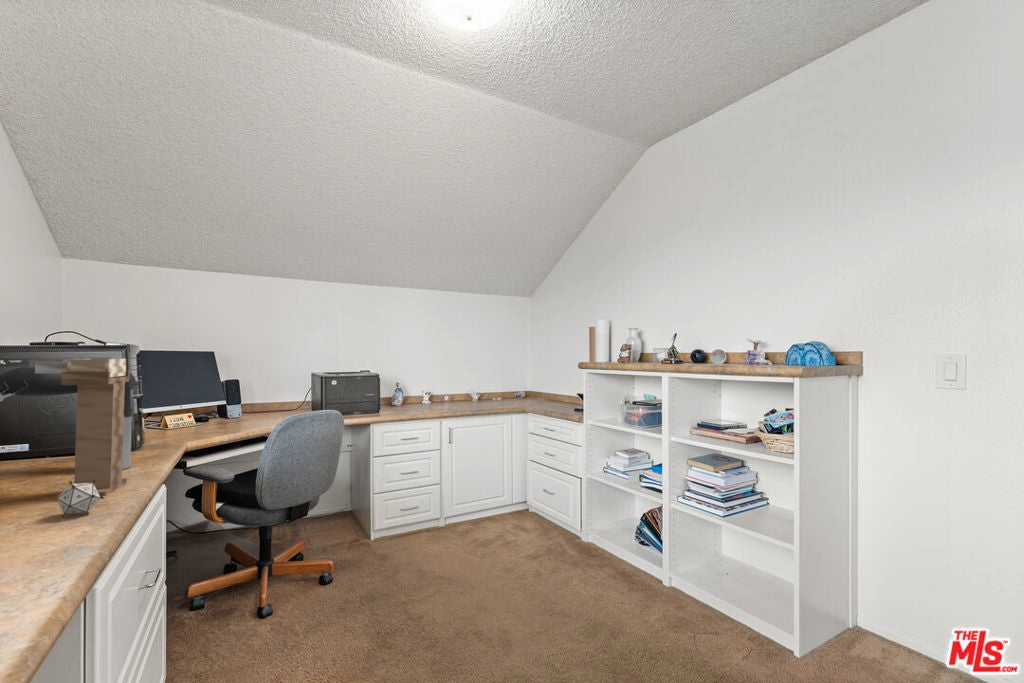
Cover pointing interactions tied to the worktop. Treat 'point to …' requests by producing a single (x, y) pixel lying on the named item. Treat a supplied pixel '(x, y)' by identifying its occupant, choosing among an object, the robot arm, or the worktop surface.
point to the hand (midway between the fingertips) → (16, 384)
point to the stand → (99, 428)
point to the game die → (78, 498)
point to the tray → (83, 366)
